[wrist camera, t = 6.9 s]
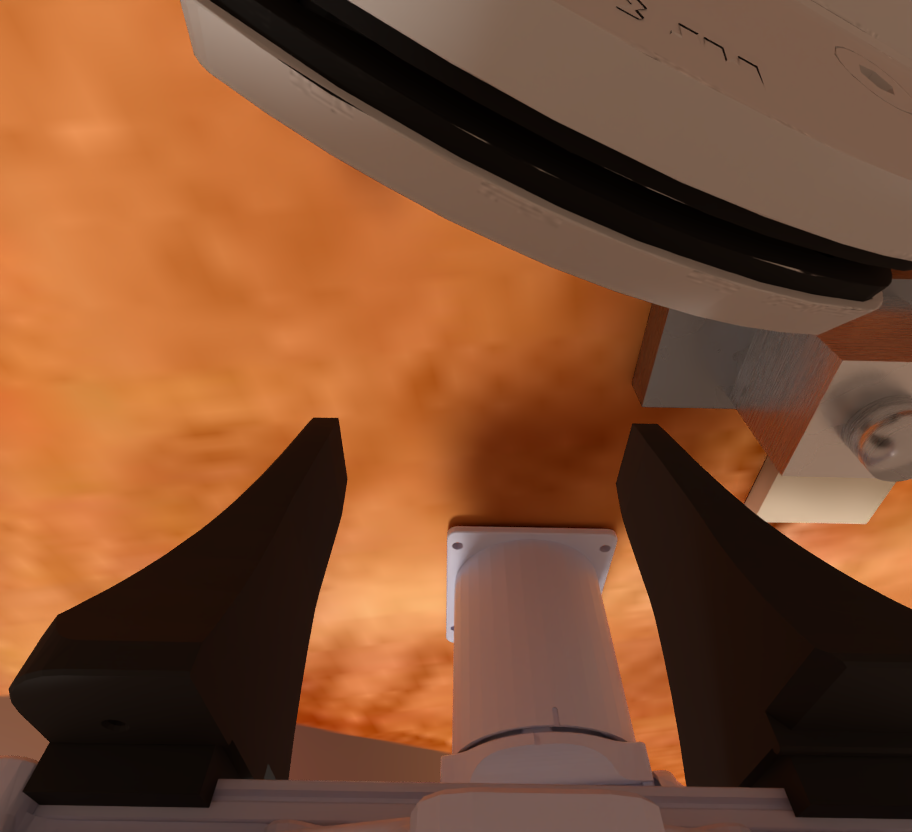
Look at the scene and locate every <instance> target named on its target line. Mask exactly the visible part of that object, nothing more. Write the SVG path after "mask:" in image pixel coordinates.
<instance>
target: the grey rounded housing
mask: <svg viewBox="0 0 912 832" xmlns="http://www.w3.org/2000/svg"><path fill="white" fill-rule="evenodd" d="M180 2H181V6H182V9H183V13H184V17H185V21H186V25H187V29H188V32H189V36H190V40H191V44H192V48H193V52H194V55H195V56H196V58H197V59H198V61H199V62H200V64H201V65H202V66H203V67H204V68H205V69H206V70H207V71H208V72H209V73H211V74H212V75H213V76H215V77H216V78H218V79H219V80H220V81H222V82H223V83H225V84H226V85H227V86H229V87H230V88H232V89H233V90H235V91H236V92H237V93H239V94H240V95H242V96H243V97H244V98H246V99H247V100H249V101H250V102H251V103H253V104H254V105H256V106H257V107H258V108H260V109H261V110H263V111H264V112H265V113H267V114H268V115H270V116H272V117H273V118H275V119H276V120H278V121H279V122H281V123H282V124H284V125H286V126H287V127H289V128H290V129H292V130H293V131H295V132H296V133H298V134H300V135H301V136H303V137H304V138H306V139H307V140H309V141H310V142H312V143H314V144H315V145H317V146H318V147H320V148H321V149H323V150H324V151H326V152H328V153H329V154H331V155H332V156H334V157H336V158H338V159H339V160H341V161H343V162H345V163H346V164H348V165H350V166H352V167H353V168H355V169H357V170H359V171H360V172H362V173H364V174H366V175H367V176H369V177H371V178H373V179H374V180H376V181H378V182H380V183H381V184H383V185H385V186H387V187H388V188H390V189H392V190H394V191H396V192H398V193H399V194H401V195H403V196H405V197H407V198H409V199H410V200H412V201H414V202H416V203H418V204H420V205H421V206H423V207H425V208H427V209H429V210H431V211H433V212H434V213H436V214H438V215H440V216H442V217H444V218H445V219H447V220H449V221H452V222H454V223H456V224H458V225H460V226H462V227H464V228H467V229H469V230H471V231H473V232H475V233H477V234H479V235H482V236H484V237H486V238H488V239H490V240H492V241H494V242H497V243H499V244H501V245H503V246H505V247H507V248H510V249H512V250H514V251H516V252H519V253H521V254H523V255H525V256H528V257H530V258H532V259H534V260H536V261H539V262H541V263H543V264H545V265H548V266H550V267H552V268H555V269H558V270H560V271H563V272H566V273H568V274H571V275H573V276H576V277H579V278H581V279H584V280H587V281H589V282H592V283H595V284H597V285H600V286H602V287H605V288H608V289H610V290H613V291H616V292H619V293H622V294H625V295H628V296H632V297H635V298H638V299H641V300H644V301H647V302H650V303H654V304H657V305H660V306H664V307H667V308H671V309H674V310H677V311H681V312H684V313H688V314H691V315H694V316H698V317H703V318H707V319H712V320H716V321H720V322H725V323H729V324H734V325H738V326H744V327H750V328H757V329H763V330H770V331H776V332H785V333H798V334H812V335H819V334H821V333H823V332H826V331H828V330H830V329H833V328H835V327H837V326H840V325H842V324H844V323H847V322H849V321H851V320H854V319H856V318H858V317H861V316H863V315H865V314H868V313H870V312H872V311H875V310H877V309H878V308H879V307H880V306H881V305H882V302H883V292H882V290H884V289H885V288H886V287H888V286H889V285H890V284H891V282H892V272H891V269H895V270H900V271H908V270H912V0H180Z"/></svg>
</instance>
